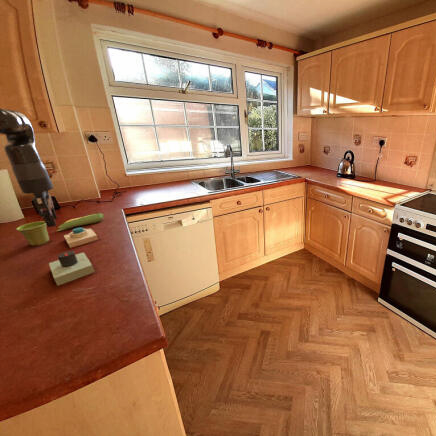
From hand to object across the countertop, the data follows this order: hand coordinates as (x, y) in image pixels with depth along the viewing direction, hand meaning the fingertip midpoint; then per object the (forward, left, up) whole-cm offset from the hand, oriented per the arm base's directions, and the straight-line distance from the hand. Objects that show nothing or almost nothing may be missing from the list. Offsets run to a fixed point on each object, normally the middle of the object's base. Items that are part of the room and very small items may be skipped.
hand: (52, 222), depth 85 cm
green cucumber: (-26, +38, -17) cm, 49 cm away
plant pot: (-30, +19, -17) cm, 39 cm away
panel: (+4, -5, -17) cm, 18 cm away
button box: (-13, +21, -17) cm, 30 cm away
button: (-13, +21, -13) cm, 28 cm away
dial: (+4, -5, -14) cm, 15 cm away
